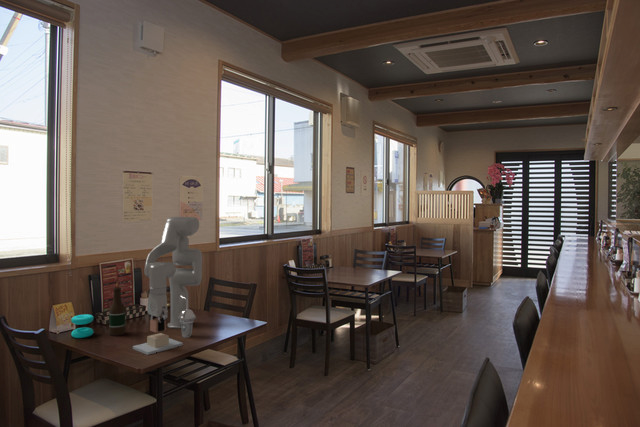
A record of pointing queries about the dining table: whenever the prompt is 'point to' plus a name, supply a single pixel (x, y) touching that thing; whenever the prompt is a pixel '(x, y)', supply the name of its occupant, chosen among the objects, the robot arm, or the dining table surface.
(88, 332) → the turquoise yo-yo
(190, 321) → the cup with straw
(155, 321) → the terracotta block
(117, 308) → the beer bottle
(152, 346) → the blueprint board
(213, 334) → the dining table surface
